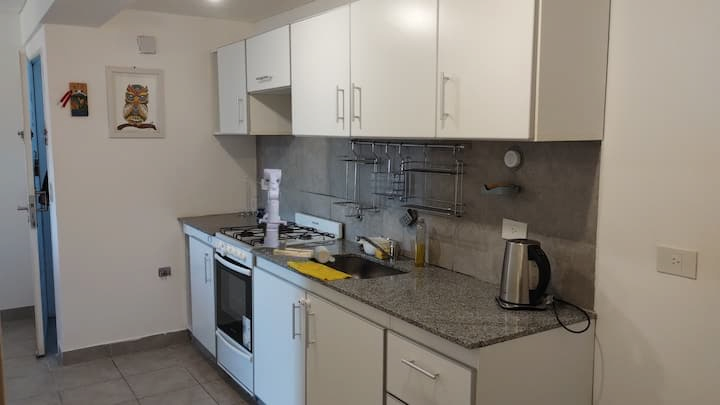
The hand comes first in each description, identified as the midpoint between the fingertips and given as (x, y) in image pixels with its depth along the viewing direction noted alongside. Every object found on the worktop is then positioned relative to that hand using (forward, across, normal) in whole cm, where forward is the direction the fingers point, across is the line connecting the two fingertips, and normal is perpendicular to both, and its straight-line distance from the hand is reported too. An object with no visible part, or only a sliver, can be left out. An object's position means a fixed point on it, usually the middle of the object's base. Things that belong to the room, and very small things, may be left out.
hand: (272, 237), depth 310 cm
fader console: (+8, +12, 0) cm, 14 cm away
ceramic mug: (+9, +30, -10) cm, 33 cm away
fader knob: (+6, +6, 0) cm, 8 cm away
